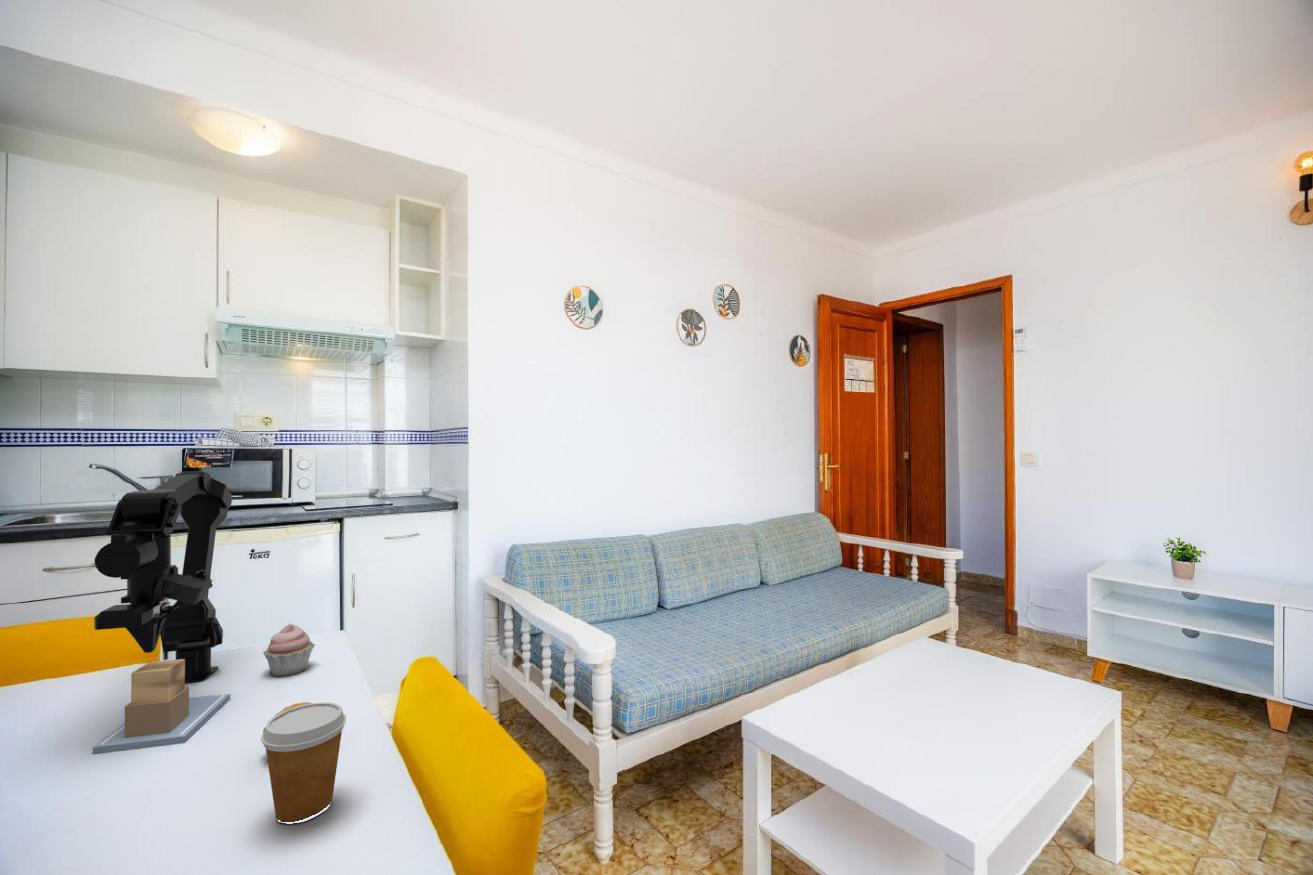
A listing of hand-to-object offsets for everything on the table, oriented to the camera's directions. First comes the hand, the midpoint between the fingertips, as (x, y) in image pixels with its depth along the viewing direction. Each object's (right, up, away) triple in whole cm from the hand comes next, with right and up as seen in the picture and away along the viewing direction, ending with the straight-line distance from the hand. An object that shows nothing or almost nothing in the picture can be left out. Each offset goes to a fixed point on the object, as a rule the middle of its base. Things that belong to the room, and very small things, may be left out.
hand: (149, 651), depth 98 cm
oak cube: (+6, -6, -5) cm, 9 cm away
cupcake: (+11, -12, +20) cm, 26 cm away
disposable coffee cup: (+43, -11, -25) cm, 51 cm away
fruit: (+33, -12, -11) cm, 36 cm away
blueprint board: (+5, -12, -2) cm, 13 cm away
